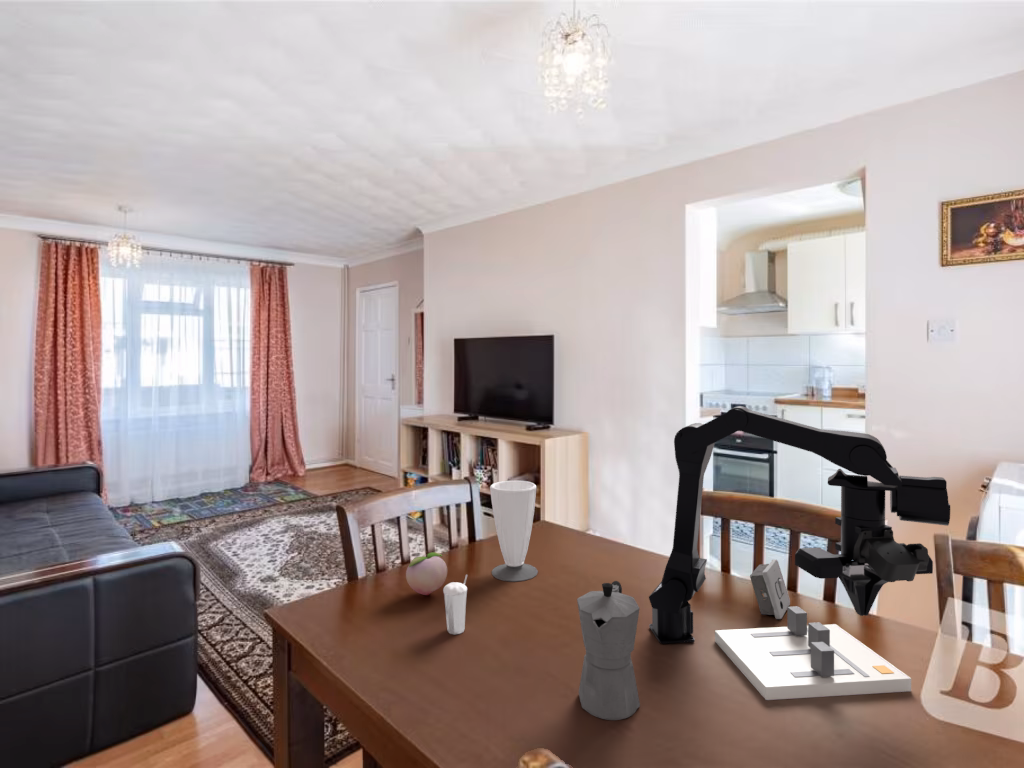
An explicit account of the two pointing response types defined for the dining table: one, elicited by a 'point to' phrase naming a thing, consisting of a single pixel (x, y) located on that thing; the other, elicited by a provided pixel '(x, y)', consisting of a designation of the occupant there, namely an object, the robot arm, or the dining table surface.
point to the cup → (513, 527)
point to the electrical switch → (770, 589)
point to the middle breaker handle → (818, 633)
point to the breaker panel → (808, 664)
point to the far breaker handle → (797, 620)
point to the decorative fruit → (426, 573)
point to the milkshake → (455, 606)
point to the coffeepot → (608, 652)
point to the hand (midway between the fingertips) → (862, 614)
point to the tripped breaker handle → (822, 659)
